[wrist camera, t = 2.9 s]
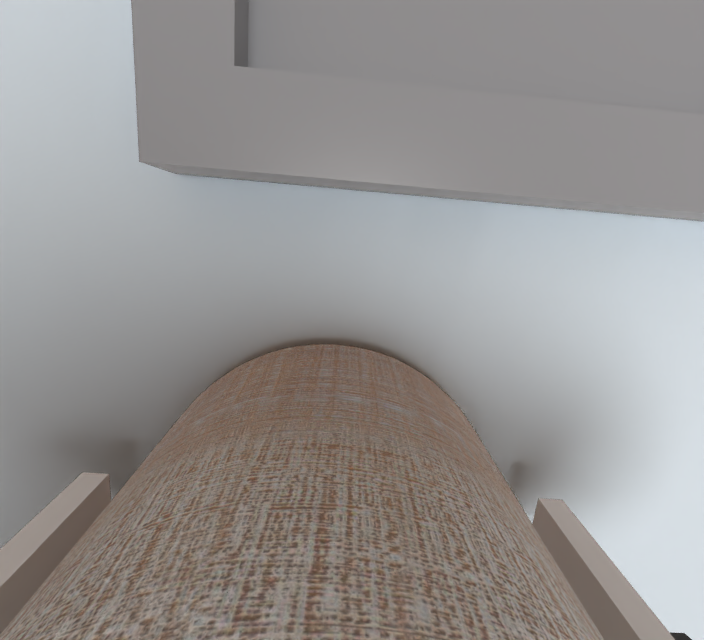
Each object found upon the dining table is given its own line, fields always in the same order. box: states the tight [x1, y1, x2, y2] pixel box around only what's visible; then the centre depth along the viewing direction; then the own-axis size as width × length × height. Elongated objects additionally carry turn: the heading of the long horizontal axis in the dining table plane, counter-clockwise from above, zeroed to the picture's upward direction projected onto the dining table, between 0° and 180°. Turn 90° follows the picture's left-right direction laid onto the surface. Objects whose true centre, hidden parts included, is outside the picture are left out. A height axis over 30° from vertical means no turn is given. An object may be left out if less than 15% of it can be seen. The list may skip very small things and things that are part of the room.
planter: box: [0, 344, 604, 640], centre depth 9 cm, size 11×11×10 cm
